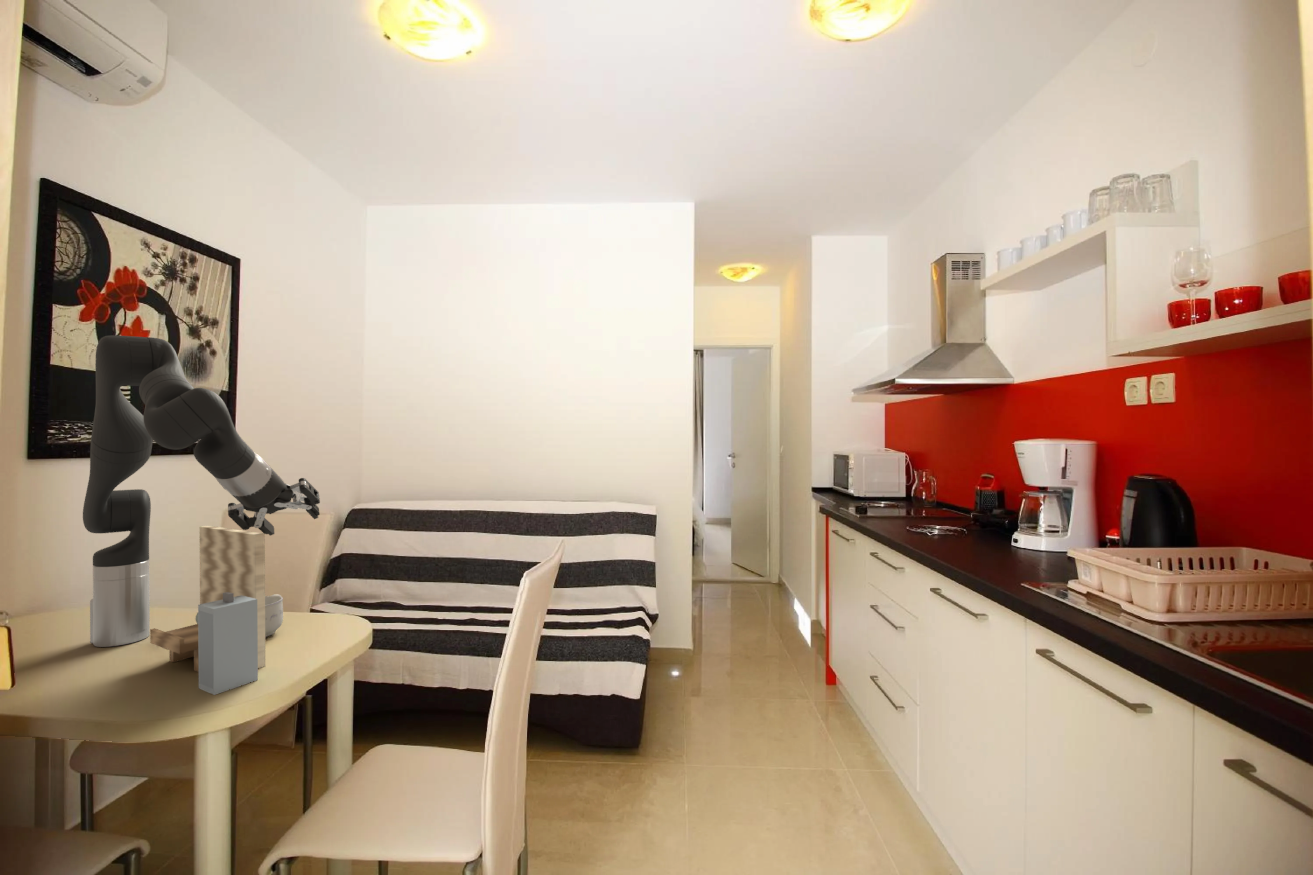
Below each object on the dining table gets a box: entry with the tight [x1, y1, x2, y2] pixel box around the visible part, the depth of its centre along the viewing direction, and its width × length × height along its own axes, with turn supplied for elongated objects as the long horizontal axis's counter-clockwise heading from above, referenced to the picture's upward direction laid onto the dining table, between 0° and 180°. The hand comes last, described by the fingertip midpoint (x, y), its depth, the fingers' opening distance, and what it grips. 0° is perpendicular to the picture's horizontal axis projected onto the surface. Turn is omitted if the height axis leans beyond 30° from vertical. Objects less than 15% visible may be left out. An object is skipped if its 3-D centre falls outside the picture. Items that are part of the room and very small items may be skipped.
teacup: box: [265, 593, 284, 638], centre depth 133 cm, size 14×11×8 cm
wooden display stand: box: [149, 525, 266, 673], centre depth 115 cm, size 22×11×26 cm, turn 61°
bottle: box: [197, 592, 259, 696], centre depth 106 cm, size 6×7×17 cm
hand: (294, 523), depth 117 cm, fingers open, 8 cm apart
